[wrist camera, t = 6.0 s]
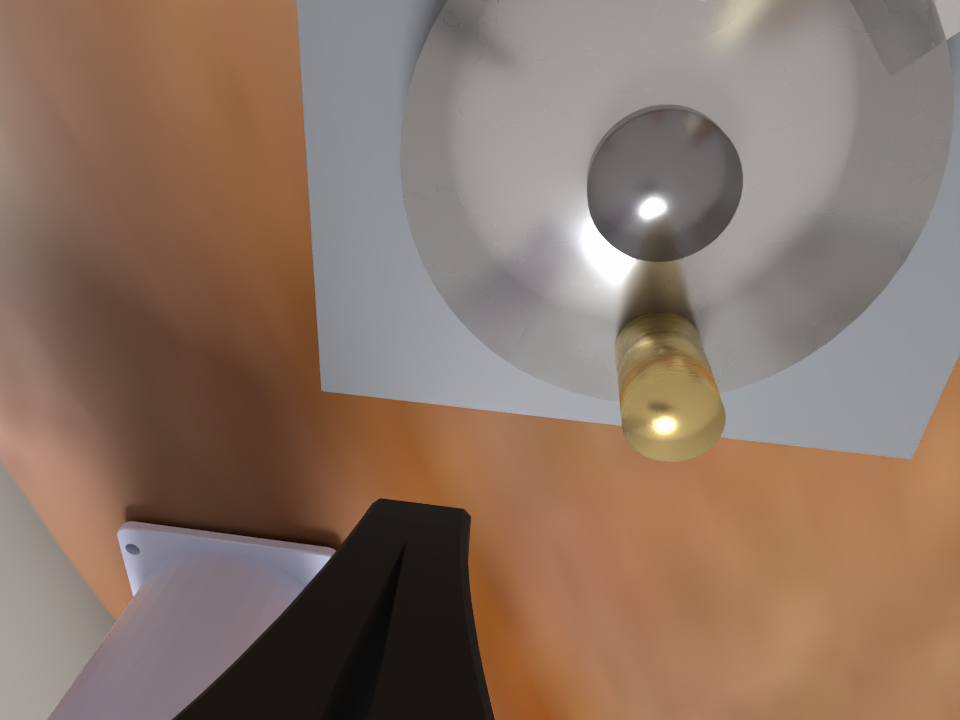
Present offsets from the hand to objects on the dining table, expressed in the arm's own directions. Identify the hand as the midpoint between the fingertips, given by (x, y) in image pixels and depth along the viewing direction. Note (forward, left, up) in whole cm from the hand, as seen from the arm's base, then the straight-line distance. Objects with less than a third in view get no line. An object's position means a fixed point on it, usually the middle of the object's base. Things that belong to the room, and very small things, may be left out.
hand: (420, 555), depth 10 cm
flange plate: (+4, -4, -8) cm, 11 cm away
